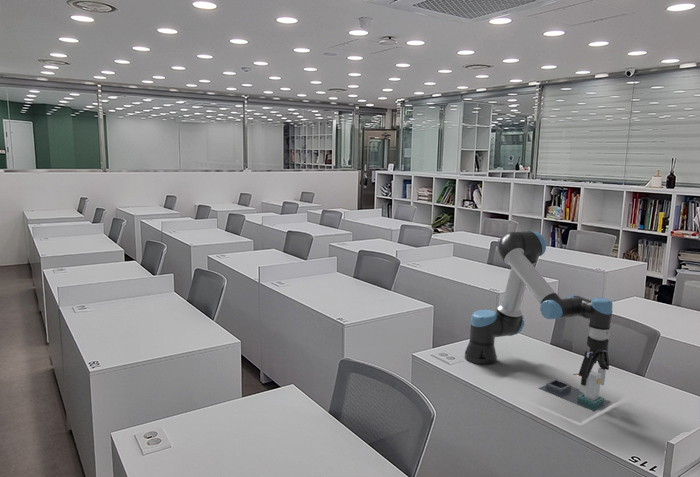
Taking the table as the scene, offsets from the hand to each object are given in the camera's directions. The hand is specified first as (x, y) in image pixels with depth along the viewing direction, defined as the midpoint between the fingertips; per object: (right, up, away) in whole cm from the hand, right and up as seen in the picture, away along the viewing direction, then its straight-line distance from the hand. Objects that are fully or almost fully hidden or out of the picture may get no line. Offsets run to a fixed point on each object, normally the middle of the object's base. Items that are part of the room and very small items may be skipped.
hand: (592, 388), depth 206 cm
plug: (0, -6, +1) cm, 6 cm away
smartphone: (+7, -4, +22) cm, 23 cm away
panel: (-5, -6, +6) cm, 10 cm away
